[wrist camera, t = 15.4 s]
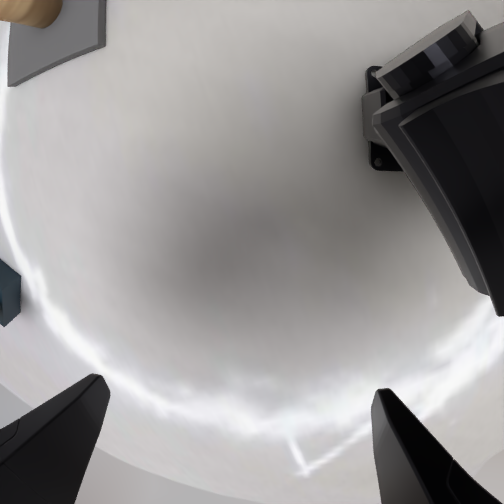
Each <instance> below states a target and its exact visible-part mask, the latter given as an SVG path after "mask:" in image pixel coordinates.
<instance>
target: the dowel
mask: <svg viewBox="0 0 504 504" xmlns="http://www.w3.org/2000/svg"><path fill="white" fill-rule="evenodd" d="M62 4H63V2H62V0H0V20H1V21H7V22H12V23H18V24H23V25H27V26H32V27H36V28H46V27H48V26H49V25H51V24H52V23H53V22H54V21H55V20H56V18H57V17H58V15H59V13H60V11H61V9H62Z"/></svg>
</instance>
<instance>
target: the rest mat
mask: <svg viewBox="0 0 504 504" xmlns="http://www.w3.org/2000/svg"><path fill="white" fill-rule="evenodd" d="M62 2H63V4H62V9H61V11H60V13H59V15H58V17H57V18H56V20H55V21H54V22H53V23H52V24H51V25H49V26H48V27H46V28H36V27H32V26H27V25H23V24H18V23H12V22H11V25H10V35H9V48H8V87H13V86H17V85H19V84H21V83H23V82H24V81H26V80H28V79H30V78H32V77H34V76H36V75H38V74H40V73H42V72H44V71H46V70H48V69H50V68H53V67H55V66H57V65H59V64H61V63H64V62H66V61H68V60H71V59H73V58H75V57H78V56H80V55H83V54H85V53H88V52H91V51H93V50H96V49H99V48H101V47H104V46H105V13H106V0H62Z"/></svg>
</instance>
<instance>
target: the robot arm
mask: <svg viewBox="0 0 504 504" xmlns="http://www.w3.org/2000/svg"><path fill="white" fill-rule="evenodd" d="M371 71H375V72H376V78H375V77H373V76H372V75H371ZM365 75H366V88H367V93H366V94H365V95H364V96H363V97H362V108H363V133H364V137H365V138H366V139H367V140H369V164H370V166H371V167H372V168H373V169H375V170H378V171H404V172H405V174H406V175H407V177H408V178H409V180H410V181H411V183H412V184H413V186H414V187H415V189H416V190H417V192H418V194H419V195H420V197H421V198H422V200H423V202H424V203H425V205H426V207H427V208H428V210H429V212H430V213H431V215H432V217H433V219H434V220H435V222H436V224H437V226H438V227H439V229H440V231H441V233H442V235H443V236H444V238H445V240H446V242H447V244H448V246H449V248H450V250H451V252H452V253H453V255H454V257H455V259H456V261H457V263H458V265H459V267H460V270H461V272H462V274H463V276H464V277H465V278H466V279H467V281H468V283H469V285H470V286H471V287H473V288H474V289H475V290H477V291H478V292H480V293H482V294H485V295H488V296H490V298H491V301H492V303H493V306H494V309H495V312H496V315H497V316H499V317H500V316H504V22H503V23H500V24H498V25H496V26H493V27H491V28H489V29H487V30H485V31H484V30H483V28H482V27H481V26H480V24H479V23H478V22H477V20H476V19H475V18H474V16H473V15H472V14H471V12H470V11H469V10H468V11H466V12H464V13H463V14H461V15H459V16H457V17H455V18H454V19H452V20H450V21H448V22H447V23H445V24H443V25H442V26H440V27H439V28H437V29H436V30H434V31H433V32H431V33H430V34H428V35H427V36H425V37H424V38H422V39H421V40H420V41H418V42H417V43H415V44H414V45H412V46H411V47H410V48H408V49H407V50H405V51H404V52H403V53H401V54H400V55H398V56H397V57H396V58H394V59H393V60H392V61H390V62H389V63H387V64H386V65H385V66H383V67H381V66H371V67H369V68H368V69H367V70H366V74H365ZM377 158H379V159H380V161H381V162H380V164H379V165H378V166H376V165H375V163H374V162H375V160H376V159H377ZM109 399H110V390H109V388H108V386H107V384H106V382H105V380H104V378H103V376H101V375H98V374H90V375H88V376H86V377H85V378H83V379H82V380H80V381H79V382H77V383H75V384H74V385H72V386H71V387H69V388H67V389H66V390H64V391H63V392H61V393H59V394H58V395H56V396H55V397H53V398H51V399H50V400H48V401H47V402H45V403H43V404H42V405H40V406H39V407H37V408H35V409H34V410H32V411H30V412H29V413H27V414H26V415H24V416H22V417H21V418H20V419H18V420H16V421H14V422H13V423H11V424H9V425H7V426H6V427H4V428H2V429H0V504H74V503H75V500H76V497H77V494H78V491H79V488H80V486H81V483H82V480H83V477H84V474H85V471H86V469H87V466H88V463H89V460H90V458H91V455H92V452H93V450H94V447H95V444H96V442H97V439H98V437H99V434H100V431H101V428H102V424H103V421H104V417H105V413H106V410H107V406H108V403H109ZM371 418H372V433H373V450H374V459H375V465H376V471H377V477H378V483H379V489H380V496H381V503H382V504H502V503H501V502H500V501H499V500H497V499H496V498H495V497H494V496H492V495H491V494H490V493H489V492H488V491H487V490H485V489H484V488H483V487H482V486H481V485H480V484H479V483H477V482H476V481H475V480H474V479H473V478H472V477H471V476H470V475H469V474H468V473H467V472H466V471H465V470H464V469H463V468H462V467H461V466H460V465H459V464H458V462H457V461H456V460H453V457H452V456H451V455H450V454H449V453H448V452H447V450H446V449H445V448H444V447H443V446H442V445H441V444H440V443H439V442H438V440H437V439H436V438H435V437H434V436H433V435H432V434H431V433H430V432H429V431H428V429H427V428H426V427H425V426H424V425H423V424H422V423H421V422H420V421H419V420H418V419H417V417H416V416H415V415H414V414H413V413H412V412H411V411H410V410H409V409H408V408H407V406H406V405H405V404H404V403H403V402H402V401H401V400H400V399H399V398H398V397H397V396H396V394H395V393H394V392H393V391H392V390H391V389H389V388H384V389H378V390H377V391H376V392H375V396H374V399H373V402H372V406H371Z"/></svg>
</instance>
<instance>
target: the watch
mask: <svg viewBox="0 0 504 504" xmlns="http://www.w3.org/2000/svg"><path fill="white" fill-rule="evenodd" d="M20 289H21V276H20V275H19V274H18V273H17V272H15V271H14V270H13V269H12V268H10V267H9V266H8V265H7V264H6V263H4V262H3V261H2V260H1V259H0V324H1V325H2V326H3V327H5V326H6V325H7V324H8V323H9V322H11V321H12V320H13V319H14V318H15V317H16V316H17V315H18V314H19V313H20Z"/></svg>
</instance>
